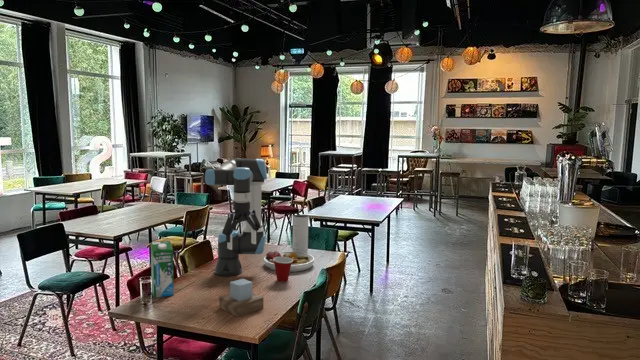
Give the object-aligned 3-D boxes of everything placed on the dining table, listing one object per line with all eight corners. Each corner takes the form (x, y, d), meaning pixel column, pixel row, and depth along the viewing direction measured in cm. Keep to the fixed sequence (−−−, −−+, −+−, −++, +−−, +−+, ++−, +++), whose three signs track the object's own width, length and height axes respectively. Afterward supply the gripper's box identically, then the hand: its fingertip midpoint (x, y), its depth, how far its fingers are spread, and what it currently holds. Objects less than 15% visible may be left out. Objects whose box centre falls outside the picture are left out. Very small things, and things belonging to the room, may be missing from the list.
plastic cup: (290, 284, 233) (290, 262, 231) (270, 282, 235) (270, 260, 234) (295, 278, 243) (295, 256, 242) (276, 276, 245) (276, 255, 244)
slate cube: (230, 297, 199) (230, 282, 199) (242, 293, 204) (242, 278, 204) (239, 301, 195) (239, 285, 194) (252, 297, 200) (252, 282, 199)
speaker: (311, 254, 293) (311, 215, 291) (299, 257, 286) (300, 217, 283) (300, 251, 301) (300, 213, 298) (288, 253, 293) (289, 214, 291)
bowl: (318, 261, 278) (319, 249, 277) (306, 275, 249) (307, 262, 248) (273, 257, 284) (273, 245, 284) (256, 271, 255) (256, 257, 255)
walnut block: (219, 307, 200) (219, 297, 199) (244, 299, 210) (244, 289, 209) (237, 316, 190) (237, 305, 190) (263, 308, 200) (263, 297, 200)
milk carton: (153, 298, 210) (153, 246, 207) (151, 291, 218) (150, 242, 215) (173, 295, 214) (173, 244, 212) (170, 289, 222) (170, 240, 220)
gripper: (223, 205, 192) (224, 253, 194) (268, 199, 210) (268, 242, 212) (213, 203, 197) (214, 249, 200) (258, 197, 215) (258, 239, 218)
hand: (242, 246), depth 206 cm, fingers open, 13 cm apart
